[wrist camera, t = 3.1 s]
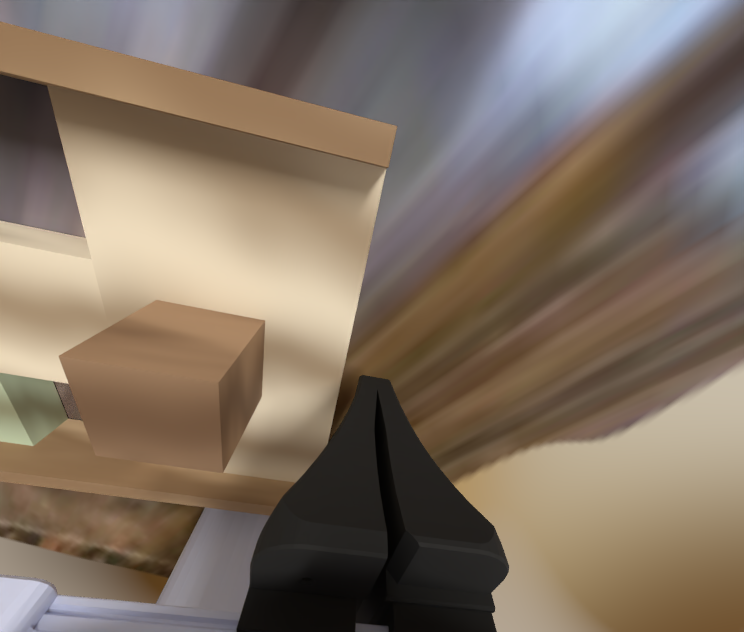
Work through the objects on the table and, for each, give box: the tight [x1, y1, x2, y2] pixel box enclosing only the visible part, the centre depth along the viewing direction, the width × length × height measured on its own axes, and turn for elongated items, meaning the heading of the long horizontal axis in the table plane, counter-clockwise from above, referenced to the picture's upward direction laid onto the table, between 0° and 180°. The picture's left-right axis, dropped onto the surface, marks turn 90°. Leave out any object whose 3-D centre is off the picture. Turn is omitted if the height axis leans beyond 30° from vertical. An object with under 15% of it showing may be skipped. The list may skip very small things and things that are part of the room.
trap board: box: [0, 22, 397, 516], centre depth 12 cm, size 20×24×4 cm
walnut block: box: [59, 300, 265, 473], centre depth 11 cm, size 4×4×4 cm
